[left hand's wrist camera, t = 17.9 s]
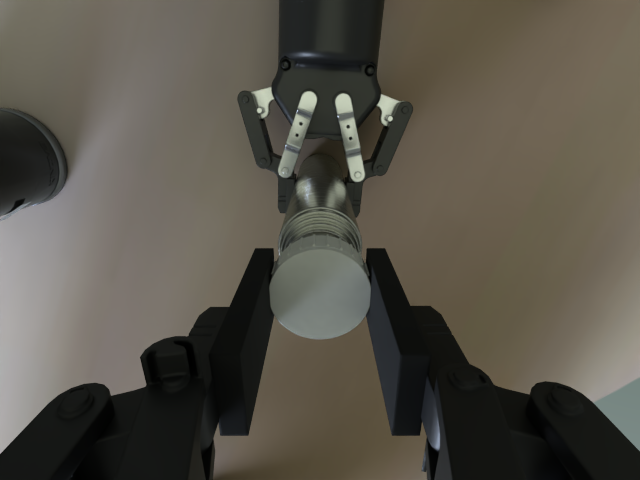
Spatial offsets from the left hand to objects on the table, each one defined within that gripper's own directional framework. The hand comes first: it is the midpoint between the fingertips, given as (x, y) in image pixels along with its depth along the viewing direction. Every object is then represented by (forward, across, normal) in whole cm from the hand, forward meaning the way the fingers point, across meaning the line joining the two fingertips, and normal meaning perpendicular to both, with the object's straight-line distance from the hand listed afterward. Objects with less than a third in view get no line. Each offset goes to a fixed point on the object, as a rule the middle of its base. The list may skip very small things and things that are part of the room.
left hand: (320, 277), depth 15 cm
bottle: (+22, 0, 0) cm, 22 cm away
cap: (-1, 0, 0) cm, 1 cm away
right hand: (+16, 0, -3) cm, 17 cm away
